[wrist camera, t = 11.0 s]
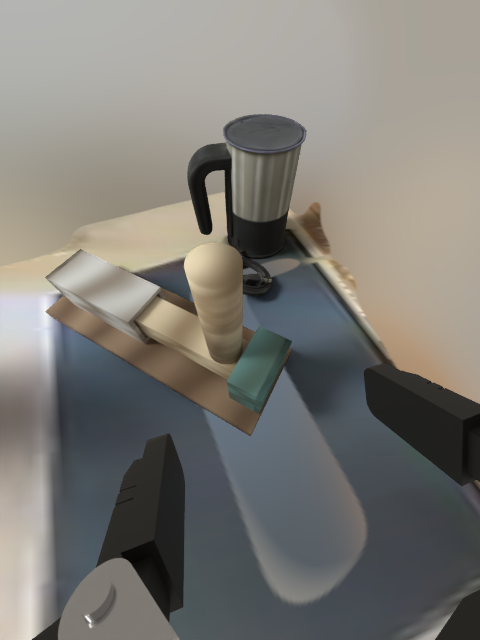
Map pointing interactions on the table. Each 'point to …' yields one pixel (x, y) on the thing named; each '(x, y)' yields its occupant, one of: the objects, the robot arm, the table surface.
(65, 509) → the table surface
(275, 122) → the milk frother
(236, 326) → the cream l-shaped piece
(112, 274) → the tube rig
